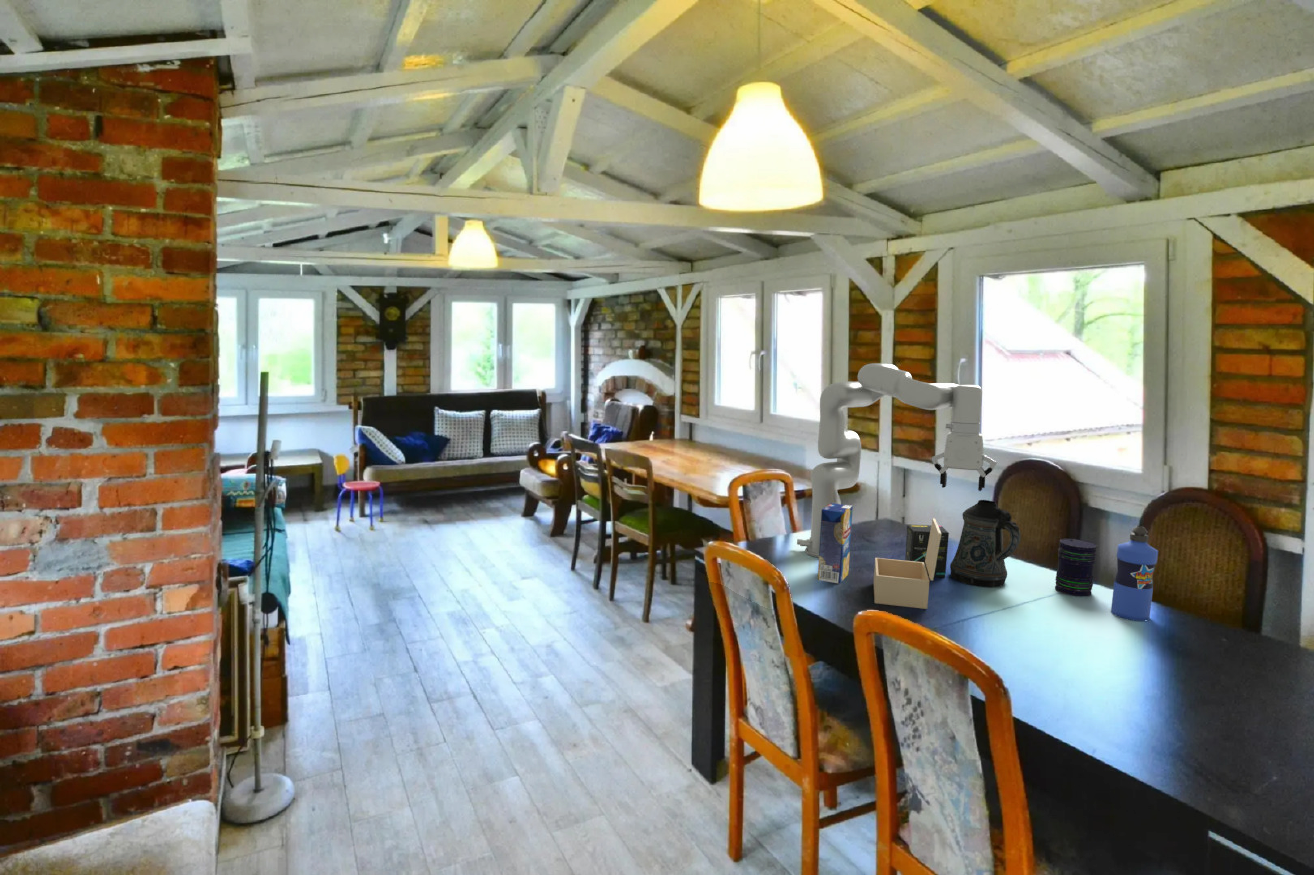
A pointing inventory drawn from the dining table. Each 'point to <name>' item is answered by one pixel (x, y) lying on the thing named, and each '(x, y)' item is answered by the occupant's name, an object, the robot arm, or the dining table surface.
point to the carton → (901, 583)
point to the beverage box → (835, 542)
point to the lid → (933, 548)
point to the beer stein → (984, 546)
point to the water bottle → (1134, 577)
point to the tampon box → (919, 545)
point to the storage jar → (1075, 567)
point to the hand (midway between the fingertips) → (961, 488)
